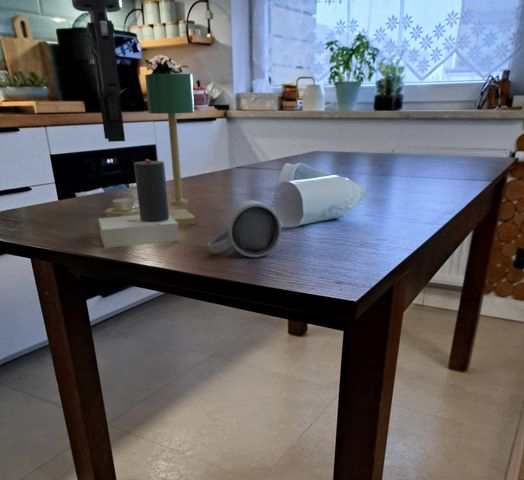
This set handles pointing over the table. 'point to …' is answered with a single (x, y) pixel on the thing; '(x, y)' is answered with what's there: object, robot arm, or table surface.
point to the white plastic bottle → (316, 199)
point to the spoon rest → (298, 173)
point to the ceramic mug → (249, 230)
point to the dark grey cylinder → (151, 190)
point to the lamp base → (183, 220)
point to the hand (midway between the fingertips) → (114, 139)
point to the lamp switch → (123, 205)
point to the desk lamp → (171, 113)
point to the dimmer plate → (136, 231)
